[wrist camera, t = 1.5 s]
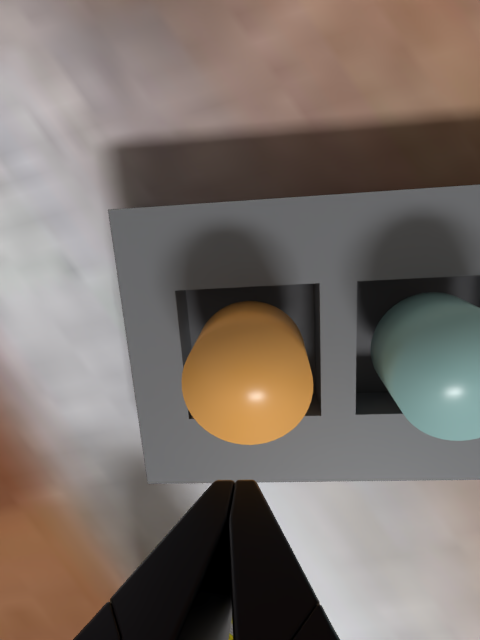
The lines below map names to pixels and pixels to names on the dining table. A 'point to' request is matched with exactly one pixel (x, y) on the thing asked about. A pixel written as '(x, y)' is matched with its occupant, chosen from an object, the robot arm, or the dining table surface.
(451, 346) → the teal button
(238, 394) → the orange button
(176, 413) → the panel
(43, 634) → the dining table surface
